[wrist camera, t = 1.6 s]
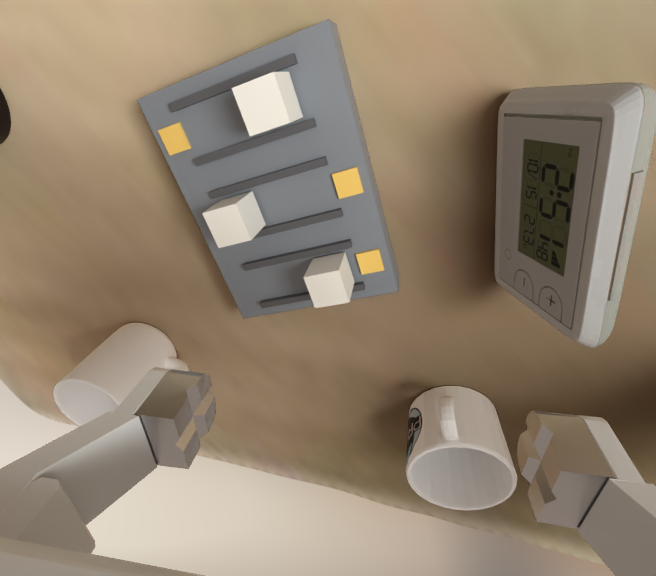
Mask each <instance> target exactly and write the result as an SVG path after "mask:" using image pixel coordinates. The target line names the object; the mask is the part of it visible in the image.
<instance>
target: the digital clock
mask: <svg viewBox="0 0 656 576" xmlns="http://www.w3.org/2000/svg"><path fill="white" fill-rule="evenodd" d="M655 129H656V92H655V91H654V90H653V89H652V88H651V87H650V86H648V85H645V84H641V83H605V84H587V85H570V86H553V87H535V88H522V89H516V90H513V91H511V92H510V93H509V95H508V96H507V97H506V99H505V100H504V102H503V103H502V104H501V106H500V109H499V116H498V141H497V181H496V224H495V279H496V281H497V283H498V284H499V285H500V286H501V287H502V288H503V289H505V290H506V291H507V292H509V293H510V294H511V295H513V296H514V297H515V298H517V299H518V300H519V301H521V302H522V303H523V304H525V305H526V306H527V307H528V308H530V309H531V310H532V311H534V312H535V313H536V314H538V315H539V316H540V317H542V318H543V319H544V320H546V321H547V322H548V323H550V324H551V325H552V326H554V327H555V328H556V329H557V330H559V331H560V332H562V333H563V334H564V335H566V336H567V337H569V338H570V339H572V340H574V341H576V342H578V343H580V344H582V345H585V346H587V347H589V348H594V347H597V346H599V345H601V344H602V343H603V342H605V341H606V340H607V338H608V337H609V335H610V334H611V332H612V329H613V327H614V324H615V319H616V315H617V311H618V307H619V302H620V298H621V293H622V288H623V284H624V279H625V274H626V269H627V265H628V260H629V255H630V250H631V246H632V241H633V236H634V231H635V226H636V222H637V217H638V212H639V207H640V203H641V198H642V193H643V188H644V184H645V179H646V174H647V169H648V165H649V160H650V155H651V150H652V144H653V139H654V134H655Z"/></svg>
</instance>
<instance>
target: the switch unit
mask: <svg viewBox="0 0 656 576" xmlns="http://www.w3.org/2000/svg"><path fill="white" fill-rule="evenodd" d="M272 72H289V74H290V77H291V80H292V83H293V86H294V90H295V93H296V96H297V99H298V102H299V106H300V109H301V112H302V115H303V117H302V118H300V119H298V120H295V121H293V122H291V123H288V124H285V125H282V126H279V127H276V128H273V129H270V130H267V131H265V132H262V133H259V134H256V135H253V136H249V133H248V130H247V128H246V125H245V122H244V120H243V117H242V115H241V112H240V109H239V107H238V104H237V101H236V99H235V96H234V93H233V91H232V88H234V87H236V86H239V85H241V84H244V83H246V82H249V81H251V80H254V79H256V78H259V77H261V76H264V75H266V74H269V73H272ZM137 101H138V103H139V105H140V107H141V109H142V111H143V113H144V115H145V118H146V120H147V122H148V124H149V126H150V128H151V130H152V132H153V134H154V136H155V138H156V140H157V142H158V144H159V146H160V148H161V150H162V152H163V154H164V156H165V159H166V161H167V163H168V165H169V167H170V169H171V171H172V173H173V175H174V177H175V179H176V181H177V183H178V185H179V187H180V189H181V191H182V193H183V195H184V198H185V200H186V202H187V204H188V206H189V208H190V210H191V212H192V214H193V216H194V218H195V220H196V222H197V224H198V226H199V228H200V230H201V232H202V234H203V236H204V239H205V241H206V243H207V245H208V247H209V249H210V251H211V253H212V255H213V257H214V259H215V261H216V263H217V265H218V267H219V269H220V271H221V273H222V275H223V277H224V280H225V282H226V284H227V286H228V288H229V290H230V292H231V294H232V296H233V298H234V300H235V302H236V304H237V306H238V308H239V310H240V312H241V314H242V316H243V318H250V317H256V316H261V315H267V314H273V313H279V312H284V311H290V310H296V309H302V308H307V307H313V306H314V304H313V301H312V299H311V296H310V294H309V291H308V288H307V286H306V283H305V280H304V278H303V277H304V275H305V273H306V271H307V269H308V267H309V265H310V263H311V261H312V259H314V258H318V257H323V256H328V255H332V254H337V253H342V252H345V253H346V256H347V259H348V262H349V266H350V269H351V272H352V275H353V278H354V286H353V290H352V294H351V298H350V300H354V299H359V298H365V297H371V296H377V295H382V294H388V293H394V292H398V291H399V274H398V270H397V266H396V262H395V258H394V254H393V250H392V246H391V242H390V238H389V234H388V230H387V226H386V222H385V218H384V214H383V210H382V206H381V202H380V198H379V194H378V190H377V186H376V182H375V178H374V174H373V170H372V166H371V162H370V158H369V154H368V150H367V146H366V142H365V138H364V134H363V130H362V126H361V122H360V118H359V114H358V110H357V106H356V102H355V98H354V94H353V90H352V86H351V82H350V78H349V74H348V70H347V66H346V62H345V58H344V54H343V50H342V46H341V42H340V38H339V34H338V30H337V26H336V24H335V23H334V22H332V21H331V20H329V19H327V20H325V21H323V22H320V23H318V24H315V25H313V26H311V27H308V28H306V29H304V30H301V31H299V32H296V33H294V34H292V35H289V36H287V37H285V38H282V39H280V40H277V41H275V42H273V43H270V44H268V45H266V46H263V47H261V48H258V49H256V50H254V51H251V52H249V53H247V54H244V55H242V56H239V57H237V58H235V59H232V60H230V61H228V62H225V63H223V64H220V65H218V66H216V67H213V68H211V69H209V70H206V71H204V72H201V73H199V74H197V75H194V76H192V77H190V78H187V79H185V80H182V81H180V82H178V83H175V84H173V85H171V86H168V87H166V88H163V89H161V90H159V91H156V92H154V93H152V94H149V95H147V96H145V97H142V98H140V99H137ZM250 191H253V194H254V196H255V199H256V201H257V204H258V206H259V209H260V211H261V214H262V216H263V219H264V221H265V224H266V225H265V226H264V227H263V228H262V229H261V230H260V231H259V232H258V234H257V235H256V236H255V237H254V238H253V239H252V240H250V241H246V242H242V243H238V244H234V245H230V246H226V247H222V248H218V246H217V244H216V242H215V239H214V237H213V235H212V233H211V231H210V229H209V227H208V225H207V223H206V221H205V218H204V216H203V214H202V213H203V212H205V211H206V210H207V209H209V208H210V207H212V206H213V205H215V204H216V203H218V202H219V201H220V200H223V199H226V198H230V197H233V196H236V195H240V194H243V193H247V192H250Z"/></svg>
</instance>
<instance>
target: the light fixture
mask: <svg viewBox="0 0 656 576" xmlns="http://www.w3.org/2000/svg"><path fill="white" fill-rule="evenodd" d="M10 125H11V120H10V112H9V108H8V105H7V102H6V99H5V97H4V95H3V93H2V91H1V89H0V144H1V143H3V142H4V141H5V140H6V138H7V137H8V135H9V131H10Z"/></svg>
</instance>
